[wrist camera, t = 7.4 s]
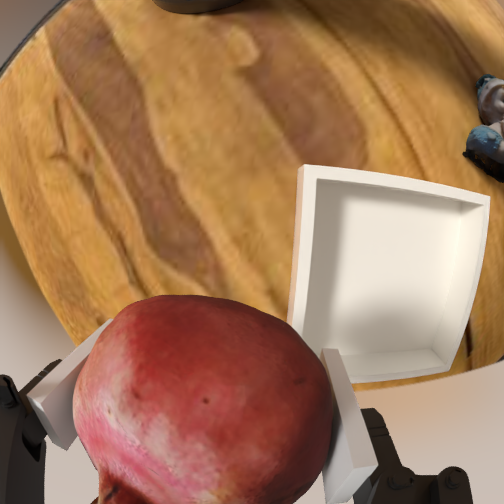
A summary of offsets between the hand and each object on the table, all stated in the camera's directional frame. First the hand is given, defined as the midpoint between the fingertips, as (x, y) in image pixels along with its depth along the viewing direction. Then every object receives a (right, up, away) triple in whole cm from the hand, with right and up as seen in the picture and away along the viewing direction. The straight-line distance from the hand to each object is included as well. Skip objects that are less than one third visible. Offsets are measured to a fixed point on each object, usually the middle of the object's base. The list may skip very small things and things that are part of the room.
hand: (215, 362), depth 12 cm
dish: (+16, +3, +14) cm, 21 cm away
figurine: (+31, +21, +10) cm, 38 cm away
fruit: (0, 0, 0) cm, 0 cm away
